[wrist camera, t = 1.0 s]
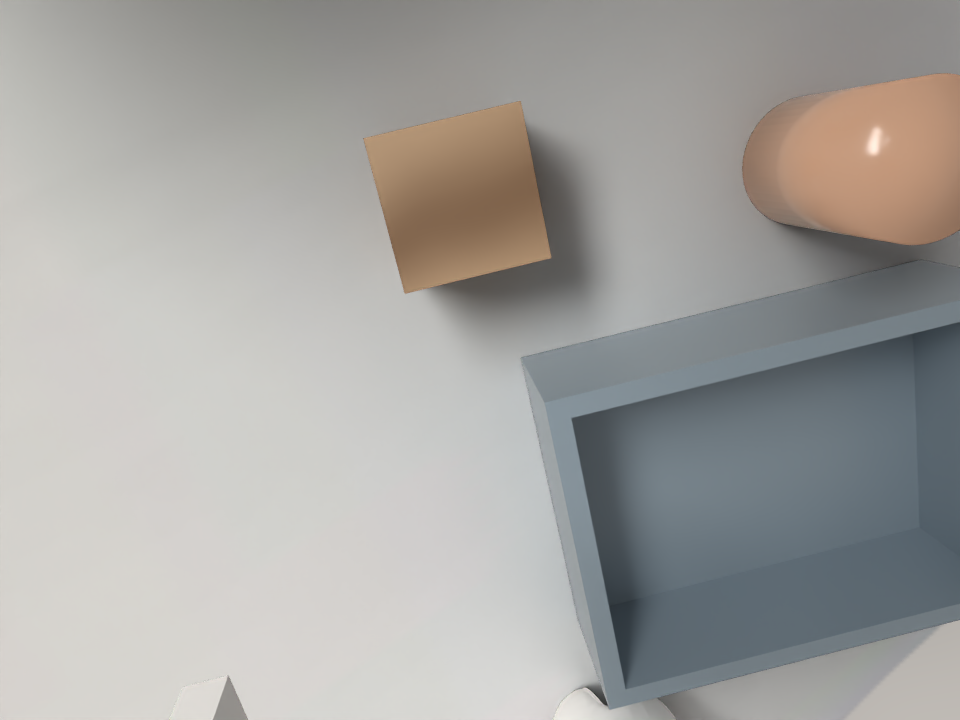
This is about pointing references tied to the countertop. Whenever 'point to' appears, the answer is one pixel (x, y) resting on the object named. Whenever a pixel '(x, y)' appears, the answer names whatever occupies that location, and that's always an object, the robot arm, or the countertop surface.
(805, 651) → the tote
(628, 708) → the water bottle
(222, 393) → the countertop surface
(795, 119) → the capsule
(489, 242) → the cube
